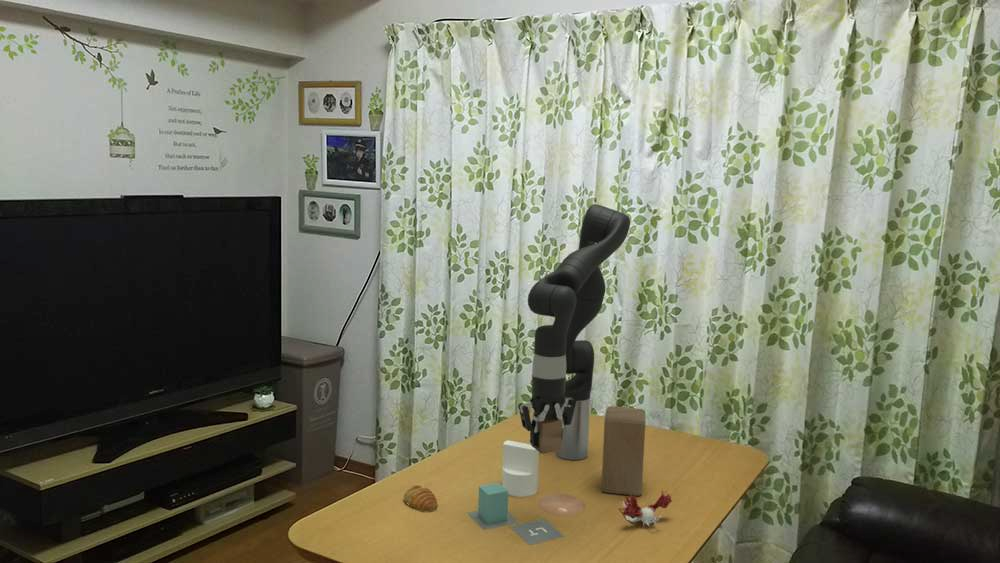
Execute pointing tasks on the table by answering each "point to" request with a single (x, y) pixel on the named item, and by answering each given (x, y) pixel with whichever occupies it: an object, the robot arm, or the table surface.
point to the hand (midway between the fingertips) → (546, 444)
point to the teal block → (493, 503)
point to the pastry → (421, 498)
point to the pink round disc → (561, 504)
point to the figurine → (644, 509)
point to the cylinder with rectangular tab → (520, 469)
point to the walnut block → (550, 435)
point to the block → (623, 450)
